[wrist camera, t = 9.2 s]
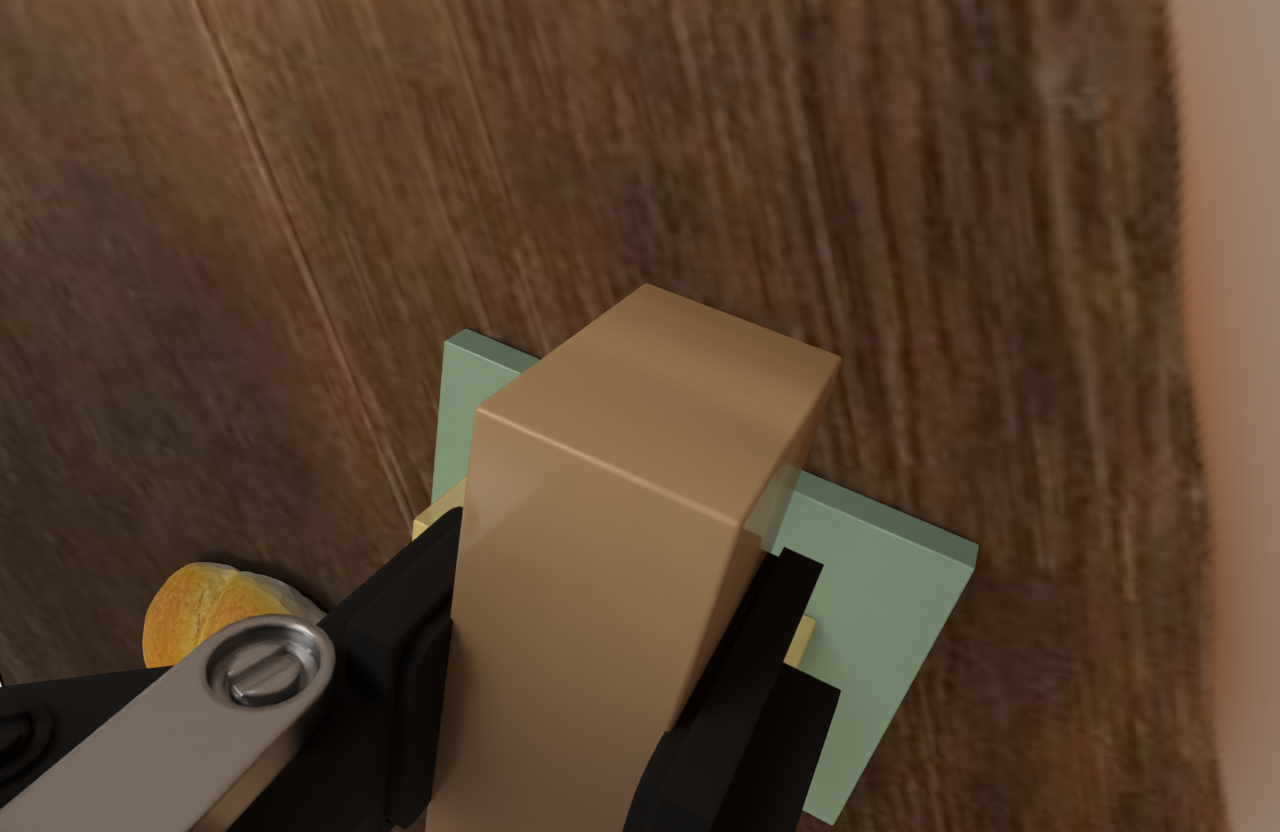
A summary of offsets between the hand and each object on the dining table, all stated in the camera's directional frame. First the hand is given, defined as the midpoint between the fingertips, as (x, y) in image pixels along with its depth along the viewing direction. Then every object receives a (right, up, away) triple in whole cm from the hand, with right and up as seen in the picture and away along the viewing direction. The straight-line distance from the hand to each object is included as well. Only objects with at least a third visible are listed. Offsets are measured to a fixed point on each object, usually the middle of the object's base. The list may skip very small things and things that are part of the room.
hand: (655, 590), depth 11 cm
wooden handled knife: (-1, -4, +3) cm, 5 cm away
